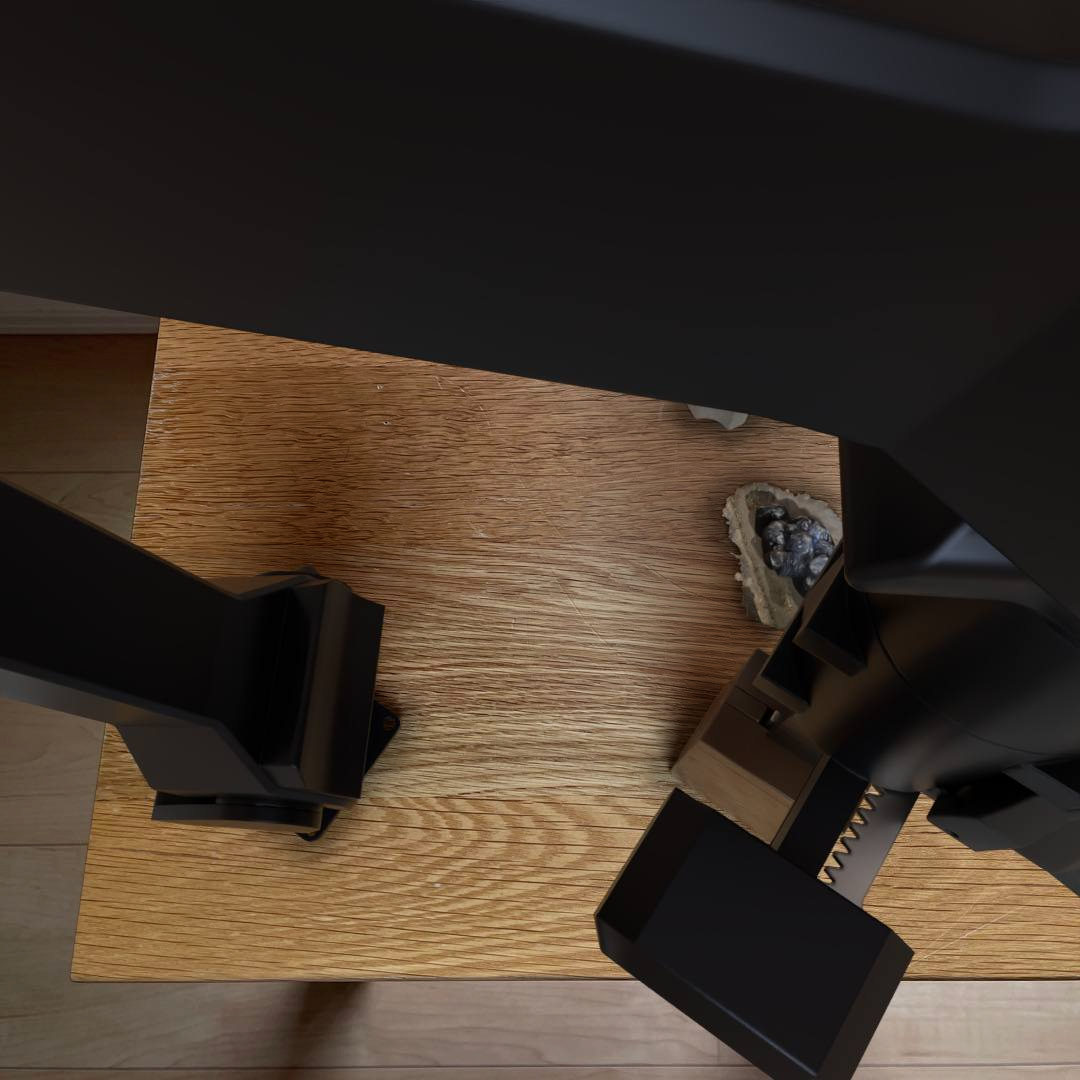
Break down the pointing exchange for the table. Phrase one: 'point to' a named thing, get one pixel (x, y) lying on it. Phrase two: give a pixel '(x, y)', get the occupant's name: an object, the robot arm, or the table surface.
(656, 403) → the table surface
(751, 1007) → the robot arm
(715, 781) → the brown slotted box
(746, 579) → the blue crystal geode
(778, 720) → the dark brown angled piece
